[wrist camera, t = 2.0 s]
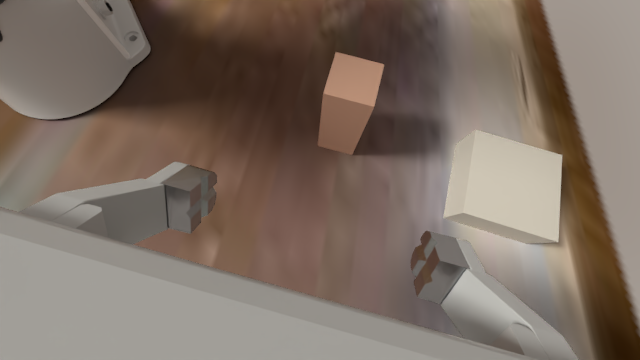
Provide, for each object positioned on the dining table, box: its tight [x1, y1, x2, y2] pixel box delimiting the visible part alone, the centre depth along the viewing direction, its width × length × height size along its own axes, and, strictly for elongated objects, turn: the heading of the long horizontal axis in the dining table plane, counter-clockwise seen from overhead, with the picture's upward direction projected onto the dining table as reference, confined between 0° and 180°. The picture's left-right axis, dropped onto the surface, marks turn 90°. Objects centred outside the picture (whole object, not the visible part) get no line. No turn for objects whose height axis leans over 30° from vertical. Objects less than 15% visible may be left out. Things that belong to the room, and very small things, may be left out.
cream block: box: [443, 130, 562, 244], centre depth 27 cm, size 9×9×4 cm
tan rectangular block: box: [318, 52, 384, 155], centre depth 25 cm, size 4×4×10 cm
